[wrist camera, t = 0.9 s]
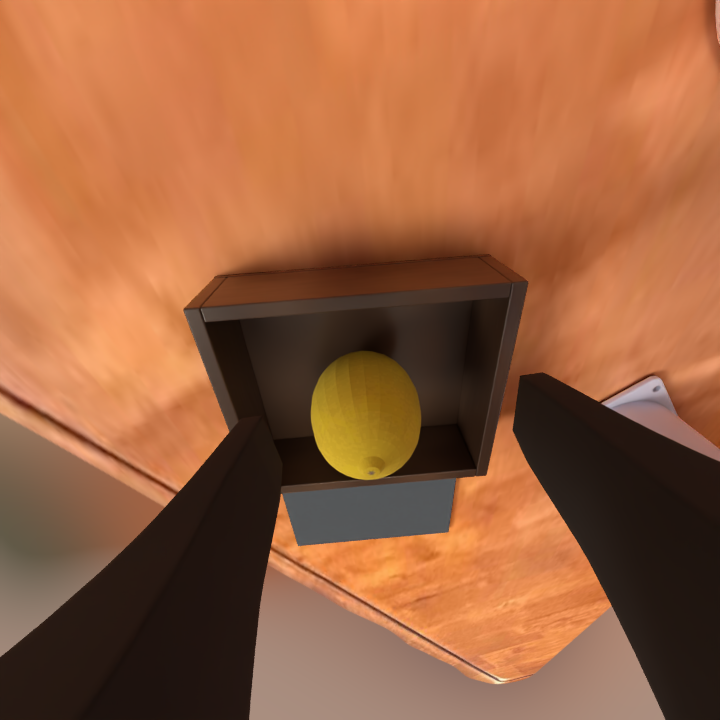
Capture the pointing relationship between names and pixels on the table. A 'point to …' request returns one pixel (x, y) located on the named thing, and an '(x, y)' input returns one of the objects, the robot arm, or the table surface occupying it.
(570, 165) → the table surface
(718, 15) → the fruit juice
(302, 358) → the dark brown shallow box
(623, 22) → the table surface
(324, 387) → the lemon
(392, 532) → the placemat
